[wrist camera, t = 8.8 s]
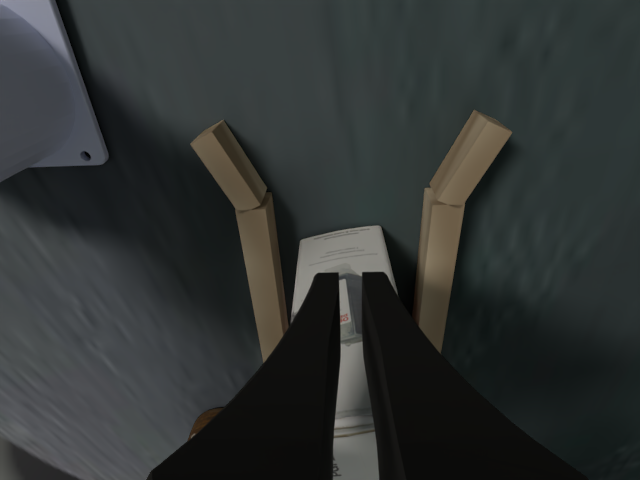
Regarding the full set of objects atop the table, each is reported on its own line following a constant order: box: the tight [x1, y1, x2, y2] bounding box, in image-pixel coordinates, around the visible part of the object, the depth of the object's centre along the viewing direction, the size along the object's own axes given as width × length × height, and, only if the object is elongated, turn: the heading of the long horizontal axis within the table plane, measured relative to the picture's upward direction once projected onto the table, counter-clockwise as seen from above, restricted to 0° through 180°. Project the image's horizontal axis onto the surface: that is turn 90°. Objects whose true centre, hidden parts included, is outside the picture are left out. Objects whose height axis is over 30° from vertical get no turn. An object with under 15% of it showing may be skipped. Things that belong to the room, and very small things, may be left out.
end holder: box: [190, 110, 512, 363], centre depth 23 cm, size 14×21×2 cm, turn 3°
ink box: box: [291, 226, 398, 480], centre depth 19 cm, size 9×5×12 cm, turn 14°
